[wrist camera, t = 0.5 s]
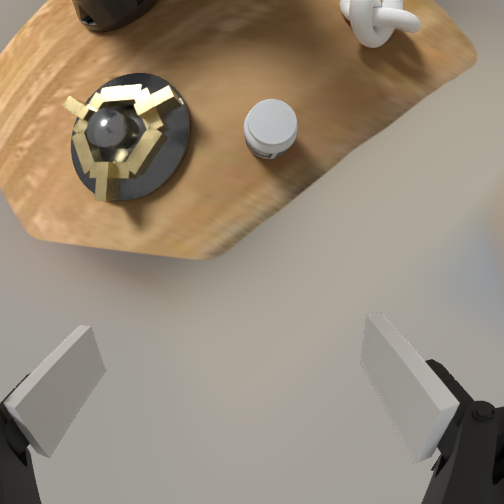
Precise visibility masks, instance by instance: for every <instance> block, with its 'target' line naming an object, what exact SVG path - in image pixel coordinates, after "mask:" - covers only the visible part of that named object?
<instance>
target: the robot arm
mask: <svg viewBox="0 0 504 504" xmlns="http://www.w3.org/2000/svg"><path fill="white" fill-rule="evenodd" d="M72 1H73V4H74V7H75V10H76V13H77V16H78V18H79V20H80V22H81V23H82V24H83V25H85V26H86V27H87V28H88V29H90V30H92V31H97V32H104V31H110V30H114V29H117V28H120V27H122V26H125V25H127V24H129V23H131V22H133V21H134V20H136V19H137V18H139V17H140V16H142V15H143V14H144V13H146V12H147V11H148V10H149V9H150V8H151V7H152V6H153V5H154V4H155V3H156V2H157V0H72ZM360 364H361V366H362V368H363V369H364V371H365V373H366V375H367V377H368V378H369V380H370V382H371V384H372V386H373V388H374V389H375V391H376V393H377V395H378V396H379V399H380V400H381V402H382V404H383V406H384V408H385V410H386V412H387V414H388V416H389V417H390V419H391V421H392V423H393V425H394V427H395V429H396V431H397V433H398V435H399V437H400V438H401V441H402V443H403V445H404V446H405V449H406V450H407V453H408V455H409V457H410V459H411V461H412V463H413V464H414V463H417V462H419V461H422V460H425V459H427V458H429V457H431V456H432V454H433V453H434V451H435V450H436V448H437V447H438V449H439V450H440V452H441V455H440V456H439V458H438V460H437V461H436V463H435V464H434V466H433V467H432V469H431V470H432V471H433V470H434V469H435V470H434V473H433V476H432V478H431V481H430V484H429V486H428V489H427V491H426V494H425V496H424V499H423V501H422V503H421V504H504V407H500V408H495V407H494V406H493V405H492V404H490V403H488V402H485V401H474V400H473V399H472V398H471V397H470V395H469V394H468V393H467V392H466V391H465V390H464V389H463V387H462V386H460V384H459V383H458V382H457V381H456V380H454V377H453V376H452V375H451V374H449V372H448V371H447V370H446V368H444V366H443V365H442V364H440V363H438V362H436V361H435V360H433V359H431V360H427V361H424V360H423V359H422V357H421V356H420V355H419V354H418V353H417V352H416V351H415V349H414V348H413V347H412V346H411V345H410V344H409V343H408V341H407V340H406V339H405V338H404V337H403V336H402V335H401V334H400V333H399V331H398V330H397V329H396V328H395V327H394V326H393V325H392V324H391V323H390V322H389V320H388V319H387V318H386V317H385V316H384V315H383V314H382V313H381V312H379V313H372V314H366V321H365V329H364V338H363V346H362V353H361V360H360ZM105 372H106V369H105V366H104V363H103V361H102V358H101V355H100V352H99V349H98V346H97V343H96V340H95V337H94V333H93V331H92V327H91V326H82V325H80V326H79V327H77V328H76V329H75V330H74V331H73V332H72V333H71V334H70V335H69V336H68V337H67V338H66V339H65V340H64V341H63V342H62V343H61V344H60V345H59V346H58V347H57V348H55V350H53V351H52V352H51V354H50V355H48V357H46V359H44V360H43V361H42V362H41V363H40V364H39V365H38V366H37V367H36V369H35V370H34V371H33V372H31V373H30V374H28V375H26V377H25V378H24V379H23V380H22V381H21V383H19V384H18V385H17V386H16V388H14V389H13V390H12V391H11V392H10V393H9V394H8V396H7V397H6V398H5V399H4V400H3V401H2V402H1V403H0V504H41V500H40V497H39V493H38V489H37V485H36V480H35V475H34V470H33V465H32V460H31V454H30V452H29V450H28V448H27V446H28V445H29V444H31V446H32V447H33V448H34V450H35V451H36V452H37V453H39V454H41V455H43V456H45V457H48V458H50V457H51V455H52V453H53V452H54V450H55V448H56V447H57V445H58V444H59V442H60V440H61V439H62V437H63V436H64V434H65V432H66V431H67V429H68V428H69V426H70V425H71V423H72V421H73V419H74V418H75V417H76V415H77V414H78V412H79V411H80V409H81V407H82V406H83V404H84V403H85V401H86V400H87V398H88V397H89V395H90V394H91V392H92V391H93V390H94V388H95V386H96V385H97V384H98V382H99V381H100V379H101V378H102V376H103V375H104V373H105Z"/></svg>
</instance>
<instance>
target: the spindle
mask: <svg viewBox="0 0 504 504" xmlns="http://www.w3.org/2000/svg"><path fill="white" fill-rule="evenodd" d="M86 132H87V137H88V139H89V141H90V142H91V143H92V144H94V145H96V146H101V147H105V148H110V149H114V150H119V151H124V150H127V149H129V148H131V147H132V146H133V145H134V144H135V142H136V141H137V139H138V135H139V127H138V125H137V123H136V122H135V121H134V120H133V119H131V118H129V117H127V116H125V115H123V114H121V113H120V112H118V111H116V110H114V109H111V108H102V109H100V110H98V111H96V112H95V113H94V114H93V115H92V116H91V118H90V120H89V122H88V124H87V131H86Z"/></svg>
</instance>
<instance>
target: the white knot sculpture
mask: <svg viewBox="0 0 504 504" xmlns="http://www.w3.org/2000/svg"><path fill="white" fill-rule="evenodd" d="M402 7H403V0H383V4H382V3H381V1H380V0H340V9H341V11H342V13H343V15H344V16H345V18H346V19H348V20H349V21H350V24H351V28H352V30H353V33H354V35H355V37H356V38H357V40H358V41H359V42H360V43H361V44H363V45H364V46H366V47H370V48H377V47H379V46H381V45H383V44H384V43H385V42H386V41H387V40H388V39H389V38H390V36H391V35H392V33H393V31H394V30H395V29H398V30H401V31H405V32H410V33H415V32H418V31H419V29H420V28H421V22H420V21H419V19H418V18H417V17H416V16H415V15H413V14H411V13H409V12H407V11H404V10H402Z"/></svg>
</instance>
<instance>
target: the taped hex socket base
mask: <svg viewBox="0 0 504 504" xmlns="http://www.w3.org/2000/svg"><path fill="white" fill-rule="evenodd" d="M126 105H134V107H135V109H136V112H137V114H138V116H140V117H141V118H142V119H143V121H144V124H145V126H146V129H147V130H146V131H145V133H144V134H143V136H142V137H141V139H140V140H139V142H138V143H137V145H136V146H135V148H134V149H133V151H132V153H131V154H130V156H129V157H128V159H127V161H126V162H104V160H103V158H102V155H101V152H100V150H99V147H98V146H96V145H94V144H92V143H91V142H90V141H89V139H88V137H87V132H86V131H87V124H88V122H89V120H90V118H91V116H92V115H93V114H94V113H95V112H96V111H98V110H100V109H102V108H112V107H113V106H126ZM181 105H182V104H181V102H180V100H179V98H178V96H177V94H176V93H175V92H174V91H173V90H172V88H171V87H170V86H167V87H165V88H163V89H161V90H159V91H157V92H155V93H153V92H152V91H151V90H150V89H148V88H145V87H144V86H143V85H142V84H138V85H126V86H116V87H108V88H102V91H101V95H100V94H98V93H97V92H96V93H95V95H94V96H93V98H92V99H91V101H90V102H89V104H86V103H85V102H83V101H80V100H78V99H76V98H73V97H71V96H69V97H68V98H67V100H66V102H65V103H64V105H63V107H65V108H66V109H68V110H69V111H71V112H72V113H74V114H75V115H77V116H78V117H79V120H78V122H77V124H76V125H75V127H74V129H73V130H74V131H75V132H76V134H75V135H74V136H72V139H73V142H74V145H75V148H76V151H77V154H78V157H79V160H80V163H81V166H82V168H83V171H84V174H90V177H89V178H96V188H95V200H97V201H109V200H116V199H120V191H121V178H129V179H137V175H144V173H145V172H146V170H147V169H148V167H149V166H150V164H151V163H152V161H153V159H154V158H155V156H156V155H157V153H158V152H159V150H160V149H161V147H162V146H163V145H164V143H165V142H166V140H167V139H168V136H166V135H165V134H163V133H164V132H166V131H168V130H170V129H169V127H168V125H167V122H166V120H165V118H164V114H166V113H168V112H170V111H172V110H174V109H175V108H177V107H179V106H181Z"/></svg>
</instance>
